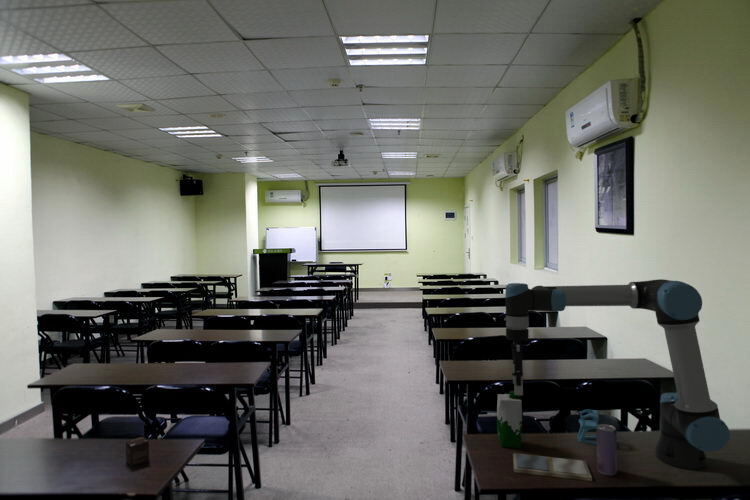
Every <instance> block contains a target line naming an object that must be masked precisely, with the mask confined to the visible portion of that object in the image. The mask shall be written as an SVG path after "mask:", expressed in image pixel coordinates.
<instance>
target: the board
mask: <svg viewBox="0 0 750 500" xmlns="http://www.w3.org/2000/svg"><path fill="white" fill-rule="evenodd" d="M512 459H513V460H512V461H513V462H512V463H513V472H514V473H518V474H527V475H533V476H534V475H536V476H543V477H552V478H553V477H554V478H559V479H560V478H562V479H571V480H577V481H578V480H580V481H588V482H593V476H592V474H591V471H590V470H589V467H588V465H587V461H586V460H580V459H572V458H560V457H553V456H542V455H534V454H533V455H532V454H524V453H523V454H522V453H516V452H515V453H514V452H513V453H512Z"/></svg>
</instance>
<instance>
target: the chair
mask: <svg viewBox="0 0 750 500" xmlns="http://www.w3.org/2000/svg"><path fill="white" fill-rule="evenodd" d="M578 413H579V415H580V419H578V423H579V425H580V427H579V430H578V433H577V434H578V435H577V437H576V439H577V440H578V442H579V443H584V444H589V445H594V446H597V441H592V440H593V439H594V440H597V435H586V434H587V433H588V431H590V430H597V425H599V420H600V415H599V412H598V411H597V410H594V409H583V410H582V411H581V410H580V411H578ZM583 414H585V415H583ZM587 418H592V420H589V419H587Z"/></svg>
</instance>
